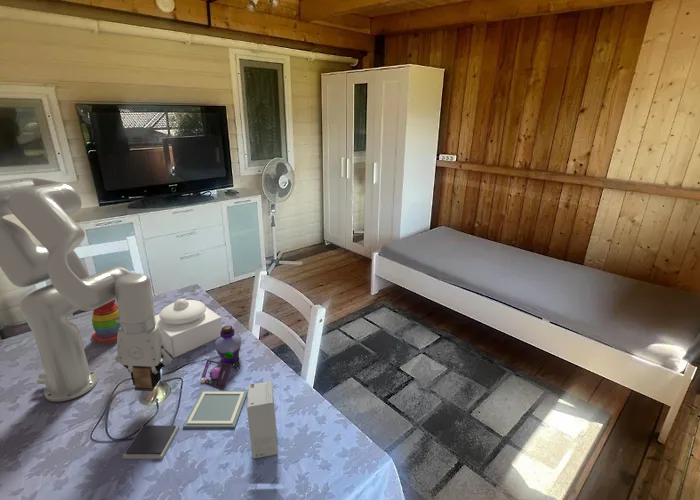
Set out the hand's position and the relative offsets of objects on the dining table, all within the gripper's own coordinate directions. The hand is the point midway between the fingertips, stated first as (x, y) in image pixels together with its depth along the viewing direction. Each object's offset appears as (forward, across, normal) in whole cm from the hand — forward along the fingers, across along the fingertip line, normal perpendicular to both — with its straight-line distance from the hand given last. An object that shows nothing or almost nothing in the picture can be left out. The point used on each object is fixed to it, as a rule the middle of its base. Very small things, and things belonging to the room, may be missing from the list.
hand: (147, 381), depth 98 cm
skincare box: (+6, +34, -12) cm, 36 cm away
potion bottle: (+8, +16, +20) cm, 27 cm away
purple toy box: (+5, +19, +9) cm, 22 cm away
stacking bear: (+10, -30, +34) cm, 46 cm away
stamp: (+1, 0, 0) cm, 1 cm away
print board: (+7, +19, -2) cm, 20 cm away
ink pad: (+7, +7, -12) cm, 16 cm away
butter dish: (+9, -3, +33) cm, 34 cm away
